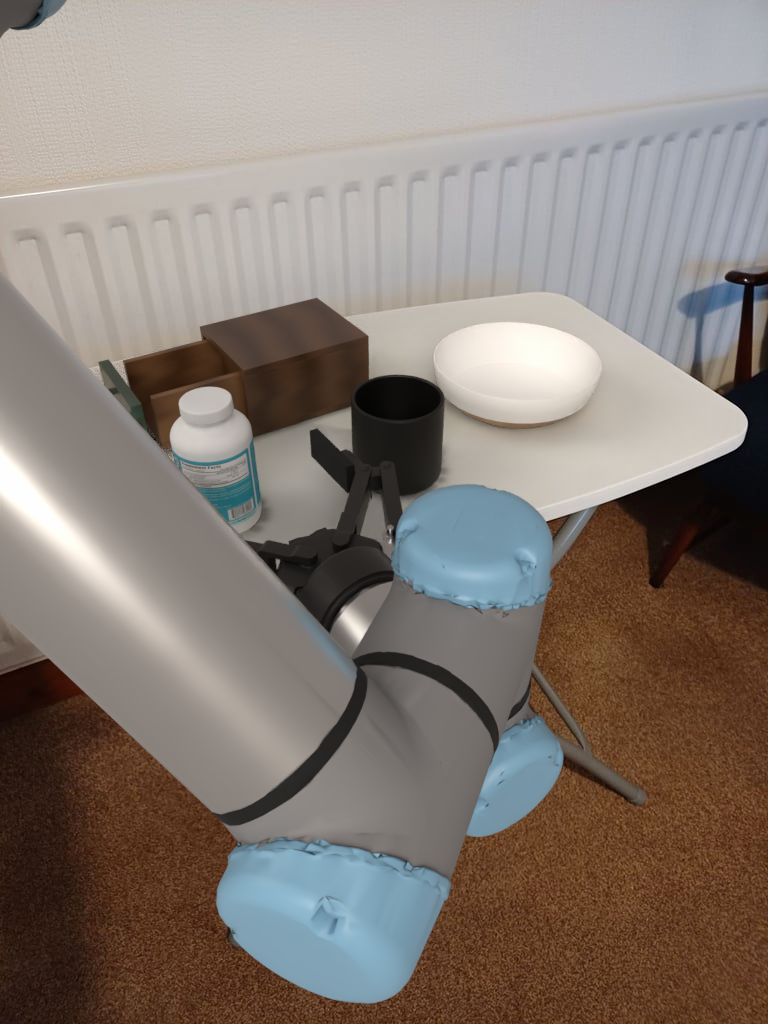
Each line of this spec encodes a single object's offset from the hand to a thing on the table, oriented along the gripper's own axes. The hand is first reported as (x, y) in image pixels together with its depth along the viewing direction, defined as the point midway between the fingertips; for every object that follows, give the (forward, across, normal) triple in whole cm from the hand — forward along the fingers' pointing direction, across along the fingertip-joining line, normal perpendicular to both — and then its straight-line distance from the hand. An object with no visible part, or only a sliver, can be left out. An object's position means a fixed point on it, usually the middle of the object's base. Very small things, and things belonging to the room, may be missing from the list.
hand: (242, 465), depth 67 cm
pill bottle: (+7, 0, -11) cm, 13 cm away
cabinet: (+25, +16, -10) cm, 32 cm away
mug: (+5, +20, -11) cm, 23 cm away
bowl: (+9, +38, -11) cm, 40 cm away
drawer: (+25, +1, -10) cm, 27 cm away
